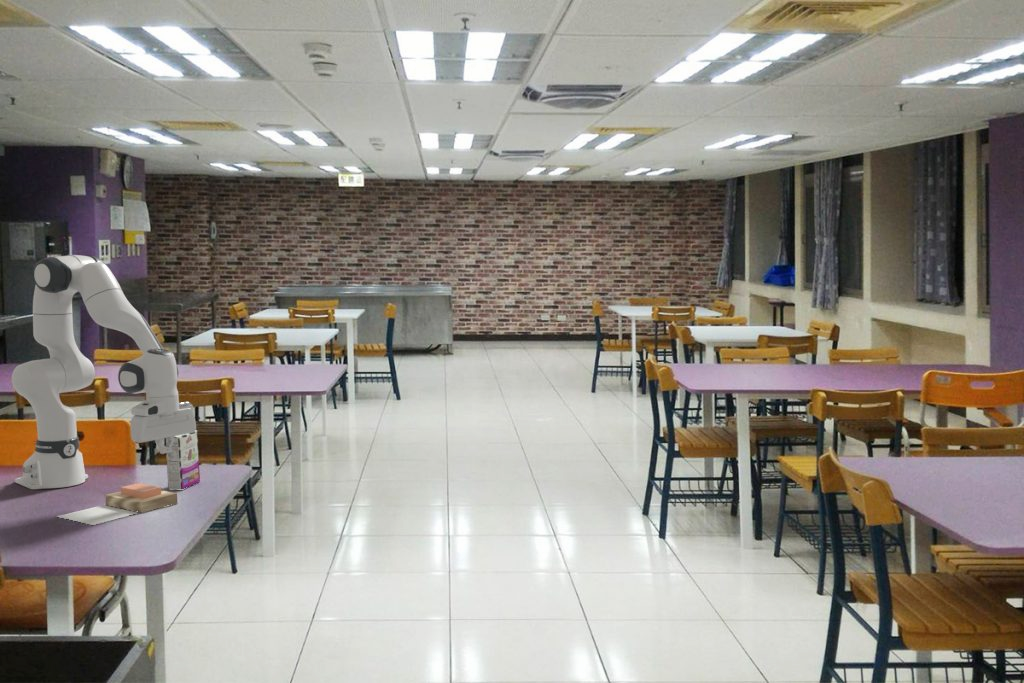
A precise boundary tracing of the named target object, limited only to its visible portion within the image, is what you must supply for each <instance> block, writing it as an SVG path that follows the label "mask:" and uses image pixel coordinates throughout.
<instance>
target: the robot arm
mask: <svg viewBox="0 0 1024 683" xmlns="http://www.w3.org/2000/svg"><path fill="white" fill-rule="evenodd" d="M32 273H33V274H32V276H33V281H34V283H35V287H34V292H33V298H32V327H33V328H32V332H33V338H34V340H35V341H36V342H37V343H38V344H39V345H42V346H43V347H46V348H47V350H48V354H49V358H42V359H33V360H30V361H27V362H22V363H21V364H18V365H17V366H16V367H14V369H13V371H12V374H11V386H12V387H13V388H14V390H15V392H16V393H17V394H18V395H20V396H21V397H23V398H24V399H26V400H27V402H28V403H29V404H30V406H31V407H32V409H33V412H34V415H35V420H36V428H37V429H36V430H37V440H33V442H34V443H33V445H35V448H34V452H33V453H32V455H30V456H29V458H27V459H26V460H25V461H24V463H23V465H22V468H21V469H22V476H20V477H17V478H15V479H14V483H16V484H18V485H20V486H22V487H25V488H27V489H29V490H42V489H43V490H44V489H59V488H68V487H74V486H77V485H78V486H79V485H81V484H82V483H85V481H86V480H87V479H89V474H87V473H86V471H85V465H84V458H83V453H82V452H81V451H80V450H79V448H80V440H79V436H78V431H77V415H76V413H75V410H74V409H72V407H70V406H68V405H65V404H63V403H62V400H61V398H60V394H62V393H69V392H76V391H79V390H82V389H84V388H87V387H89V386H91V385H92V383H94V379H95V377H96V370H95V367H94V364H93V363H92V361H91V360H90V359H89V358H87V357H86V356H85V355H84V354H83V353H82V352H81V351H80V349H79V346H78V345H77V343H76V340H75V334H74V324H73V322H74V320H73V319H74V318H73V296H74V295H75V294H76V293H79V294H80V296H81V298H82V301H83V304H84V306H85V307H86V311H87V313H88V314H89V316H90V317H91V319H92V320H93V322H95V324H97V325H99V326H101V327H104V328H107V329H110V330H116V331H119V332H121V333H123V334H126V335H127V336H128V337H130V338H132V340H134V342H135V343H136V345H137V347H138V348H139V350H140V352H141V353H142V355H141V356H140V357H137V358H136V359H133V360H130V361H127V362H125V363H122V365H120V368H119V369H118V374H117V380H118V384H119V387H120V388H121V389H122V390H123V391H124V392H125V393H127V394H134V395H136V394H142V393H145V395H146V396H145V398H146V399H145V400H143V401H141V402H140V403H138V404H136V405H134V406H133V407H131V409H130V413H131V415H132V416H131V420H130V438H131V440H132V442H133V443H138V444H139V443H140V444H141V443H146V442H151V441H154V442H155V444H156V446H157V447H158V448H159V454H161V455H165V454H166V453H170V452H172V447H171V446H172V445H173V442H174V440H175V438H174V436H178V435H183V434H188V433H193V432H195V430H197V423H196V417H195V413H194V412H195V411H194V406H193V404H192V403H191V402H189V401H184V402H180V399H179V398H180V397H179V391H178V388H177V386H178V385H177V383H178V379H179V368H178V365H177V360H176V357H175V354H174V353H173V352H172V351H171V350H168V349H165V348H164V347H163V345H162V343H161V342H160V340H159V338H158V337H157V335H156V333H155V332H154V330H153V329H152V327H151V326H150V323H149V322H148V321H147V320H146V318H145V317H144V316H143V314H142V313H141V312H140V311H138V310H137V309H136V308H135V307H134V306H133V305H132V304H131V302H130V301H129V300H128V299H127V297H126V295H125V294H124V291H123V289H122V287H121V285H120V283H119V282H118V279H117V278H116V277H115V275H114V273H113V272H112V270H111V269H110V267H108V265H107V264H105V262H104V261H103V259H101V258H99V257H97V256H94V255H89V254H87V255H83V254H82V255H81V254H80V255H79V254H68V255H61V256H48V257H45V258H42V259H40V260H38V261H37V262H36V263H35V265H34V267H33V272H32ZM165 438H166V440H168V441H167V443H166V442H165V441H166V440H165ZM164 442H165V445H164Z"/></svg>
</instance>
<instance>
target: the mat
mask: <svg viewBox="0 0 1024 683" xmlns="http://www.w3.org/2000/svg"><path fill="white" fill-rule="evenodd" d="M137 513H138V512H134V511H129V510H124V509H120V508H115V507H111V506H106V505H97V506H94V507H89V508H86V509H81V510H77V511H74V512H69V513H66V514H65V513H64V514H61V515H57V516H56V518H57V517H59V518H58V519H61V518H64V519H63V520H66V519H69V520H68V521H70V520H73V521H72V522H74V521H78V522H81V523H80V524H82V523H86V524H85V525H87V524H90V525H89V526H91V525H94V526H97V525H96V524H98V525H101V524H100V523H102V524H105V523H104V522H106V523H109V522H108V521H110V522H112V521H111V520H113V521H116V520H115V519H117V520H119V519H118V518H121V517H125V516H129V515H133V514H136V515H138V514H137ZM133 516H134V515H133ZM129 517H130V516H129ZM125 518H126V517H125ZM121 519H122V518H121ZM78 522H77V523H78Z"/></svg>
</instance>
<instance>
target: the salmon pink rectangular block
mask: <svg viewBox="0 0 1024 683" xmlns="http://www.w3.org/2000/svg"><path fill="white" fill-rule="evenodd" d="M161 490H162V487H160V486H156V485H151V484H146V483H140V482H137V483H134V484H133V483H132V484H128V485H125V486H120V491H121V494H123V495H128V496H132V497H137V498H142V499H144V498H148V497H152V496H156V495H160V494H161Z"/></svg>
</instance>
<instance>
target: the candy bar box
mask: <svg viewBox="0 0 1024 683" xmlns="http://www.w3.org/2000/svg"><path fill="white" fill-rule="evenodd" d="M174 438H175V440H174V442H173V445H172V446H171V447H172V452H170V453H165V454H166V471H167V488H169V489H184V488H186V487H189V486H191V485H193V484H195V485H197V484H199V483H200V482H201V475H200V459H199V458H200V457H199V439H198V430H197V429H196V430H195V432H193V433H188V434H183V435H178V436H174ZM164 441H165V444H166V443H167V441H168V440H166V438H164ZM198 482H199V483H198ZM196 483H197V484H196ZM193 486H194V485H193ZM191 487H192V486H191ZM189 488H190V487H189ZM169 489H168V490H169ZM184 490H185V489H184Z"/></svg>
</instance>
